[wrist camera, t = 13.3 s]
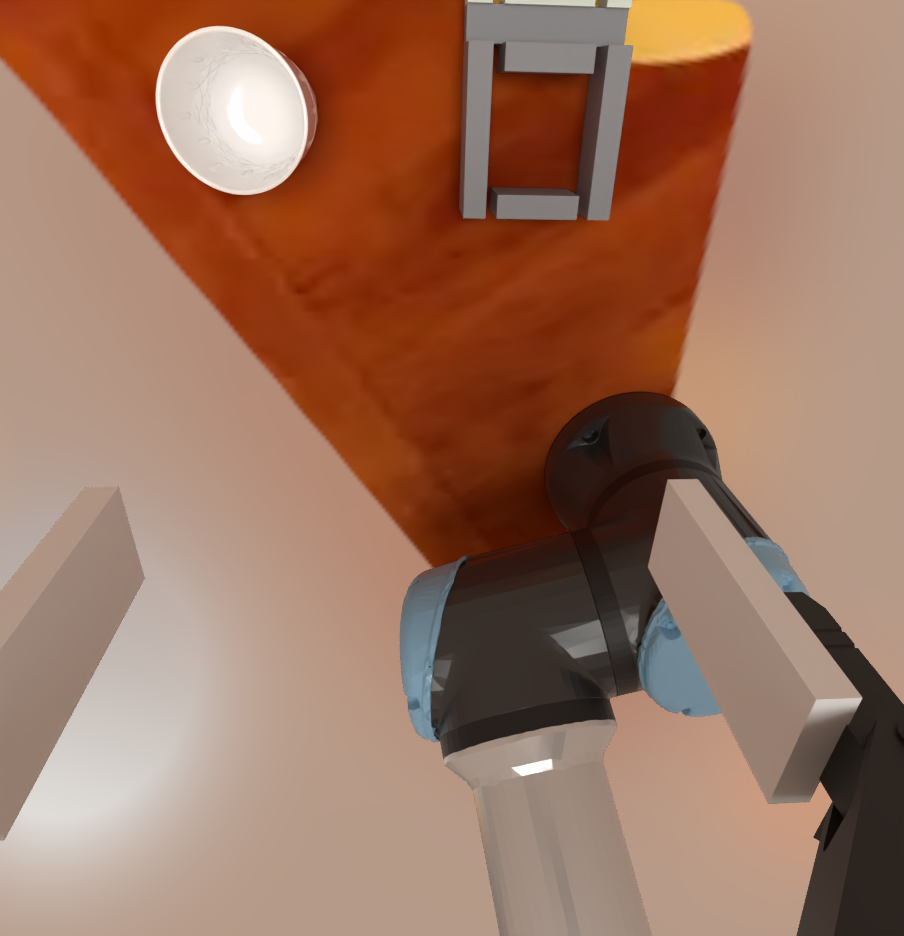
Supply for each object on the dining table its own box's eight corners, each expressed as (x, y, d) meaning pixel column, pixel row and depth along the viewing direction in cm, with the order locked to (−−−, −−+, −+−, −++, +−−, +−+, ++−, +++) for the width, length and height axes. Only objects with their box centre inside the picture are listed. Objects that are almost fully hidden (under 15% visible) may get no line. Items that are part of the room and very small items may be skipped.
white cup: (333, 55, 41) (314, 46, 33) (321, 185, 45) (301, 207, 37) (206, 25, 40) (153, 8, 32) (205, 161, 44) (157, 179, 35)
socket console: (594, 210, 47) (609, 220, 44) (459, 208, 47) (463, 218, 43) (646, -205, 36) (672, -236, 33) (470, -215, 35) (477, -248, 32)
